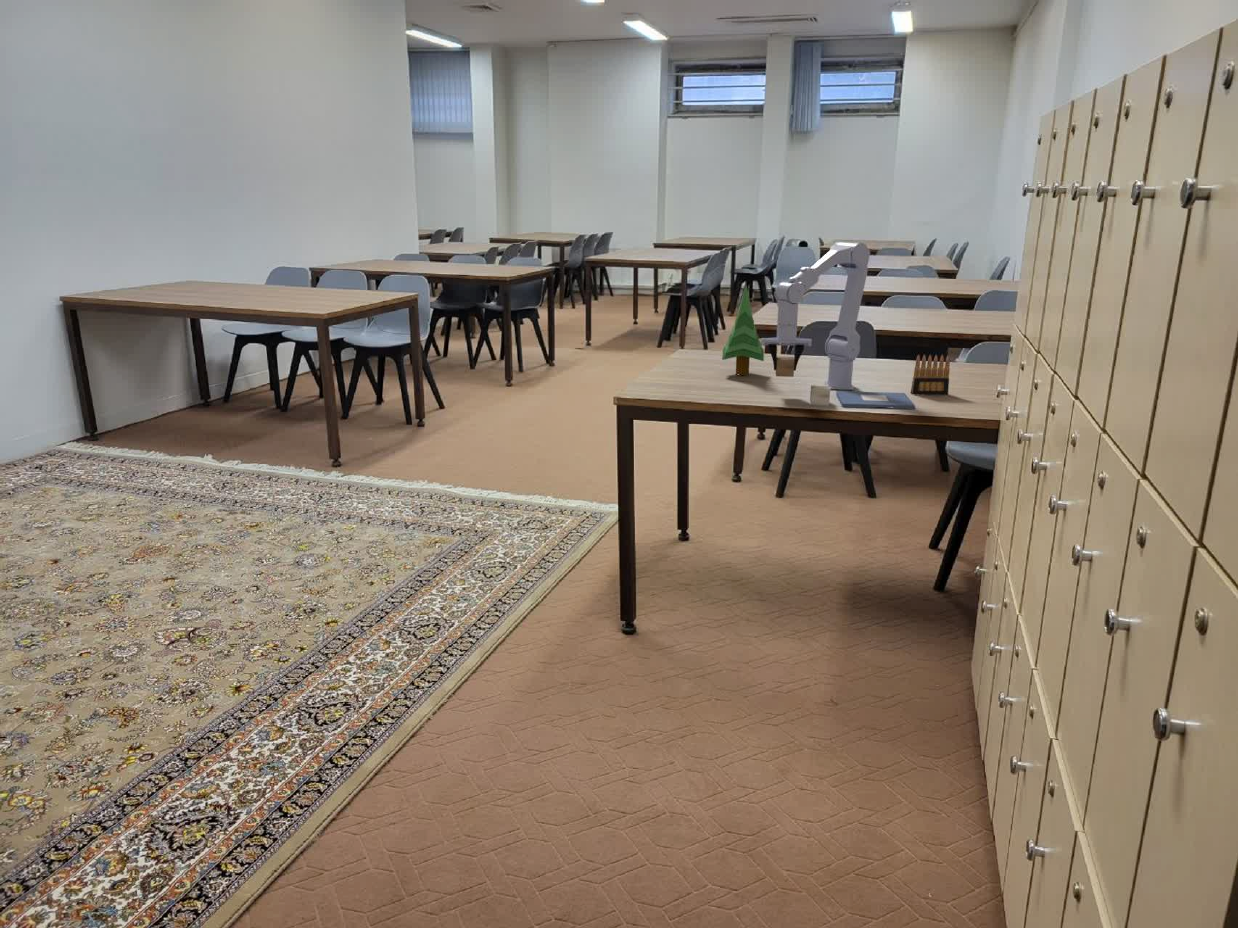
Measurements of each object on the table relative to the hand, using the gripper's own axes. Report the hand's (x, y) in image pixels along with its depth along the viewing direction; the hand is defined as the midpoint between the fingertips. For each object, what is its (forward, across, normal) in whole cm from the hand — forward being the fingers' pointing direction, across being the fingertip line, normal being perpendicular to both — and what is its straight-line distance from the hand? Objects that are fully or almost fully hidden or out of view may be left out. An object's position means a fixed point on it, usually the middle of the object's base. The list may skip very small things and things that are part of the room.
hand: (784, 369), depth 261 cm
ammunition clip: (+8, +44, +8) cm, 45 cm away
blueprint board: (+8, +26, -4) cm, 27 cm away
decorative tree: (+8, -12, +30) cm, 33 cm away
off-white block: (+8, +10, -8) cm, 15 cm away
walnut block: (+2, 0, 0) cm, 2 cm away
